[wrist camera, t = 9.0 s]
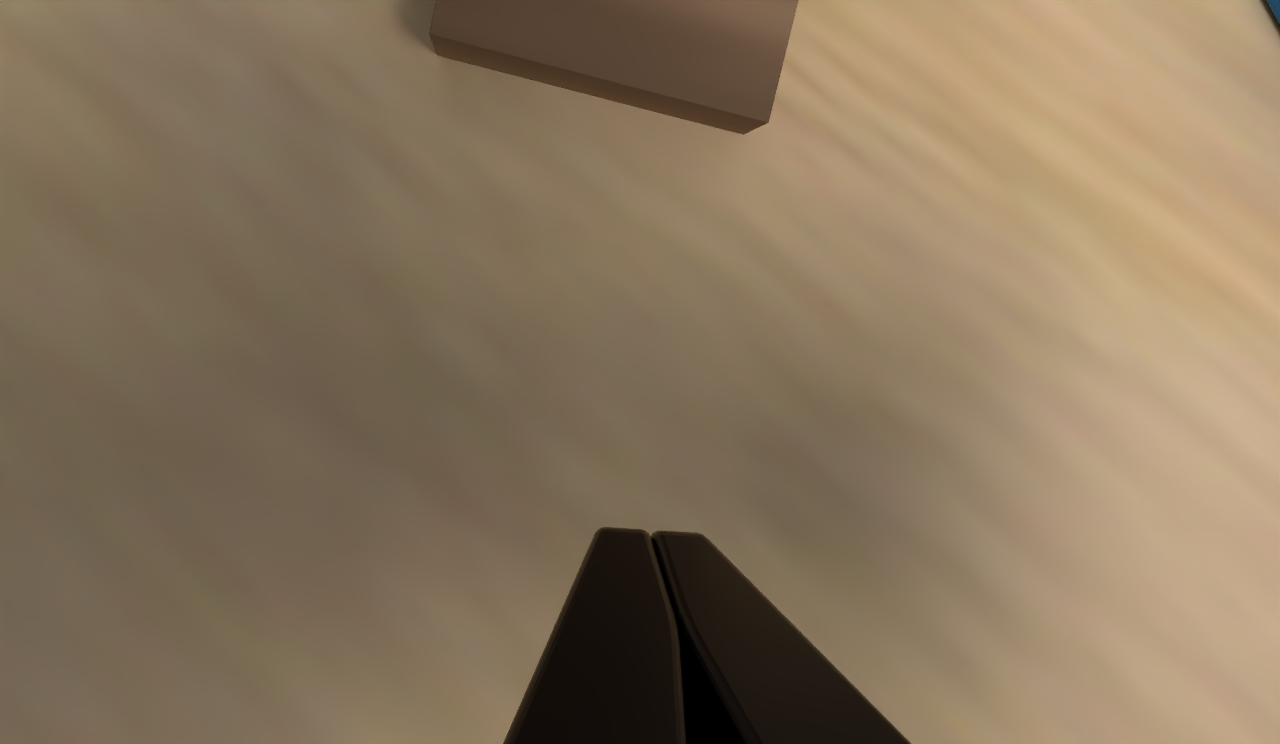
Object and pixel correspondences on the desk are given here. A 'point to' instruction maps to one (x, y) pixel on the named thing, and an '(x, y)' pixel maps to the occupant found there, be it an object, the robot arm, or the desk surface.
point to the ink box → (1275, 8)
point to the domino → (632, 50)
